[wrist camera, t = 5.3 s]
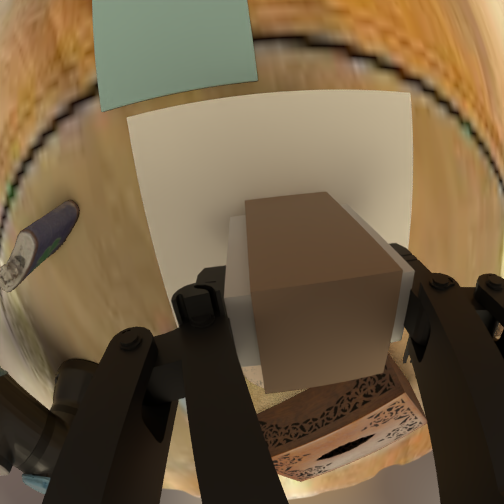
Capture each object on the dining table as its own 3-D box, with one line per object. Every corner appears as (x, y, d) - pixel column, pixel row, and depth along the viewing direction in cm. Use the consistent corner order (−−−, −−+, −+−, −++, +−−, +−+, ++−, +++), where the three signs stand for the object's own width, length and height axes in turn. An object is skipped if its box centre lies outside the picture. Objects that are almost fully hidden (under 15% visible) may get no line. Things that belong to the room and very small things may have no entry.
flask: (70, 194, 30) (10, 234, 20) (87, 213, 31) (32, 259, 21) (34, 245, 33) (-16, 291, 22) (49, 261, 34) (2, 312, 23)
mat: (104, 111, 26) (101, 111, 26) (94, -12, 19) (92, -14, 19) (257, 81, 26) (257, 80, 25) (239, -47, 19) (239, -50, 19)
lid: (187, 337, 20) (166, 459, 11) (134, 116, 14) (20, 131, 5) (390, 309, 19) (451, 411, 11) (399, 93, 13) (529, 97, 5)
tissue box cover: (295, 441, 53) (300, 481, 44) (250, 416, 48) (251, 463, 39) (408, 381, 47) (428, 422, 38) (381, 343, 42) (405, 392, 33)
